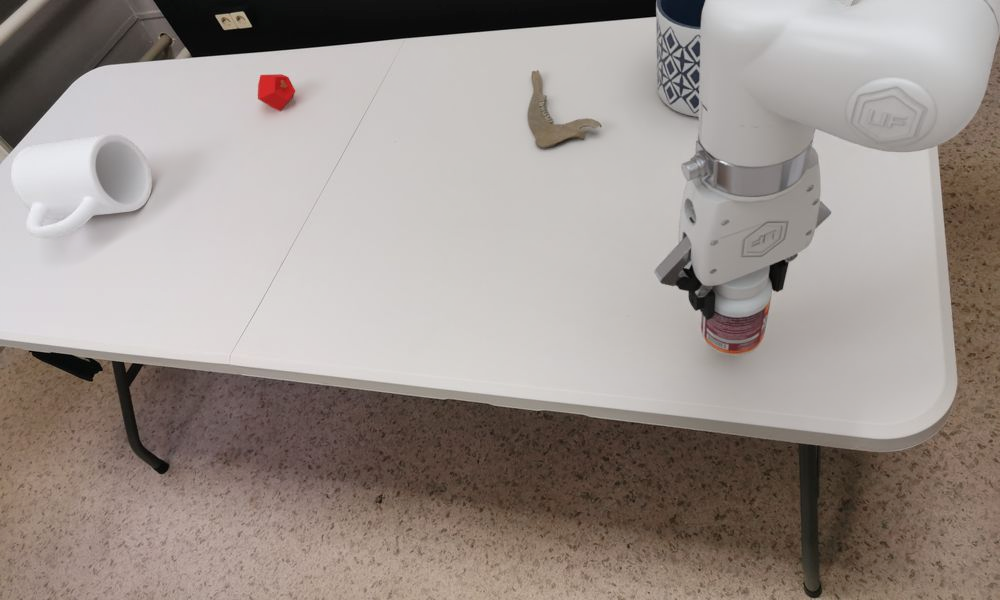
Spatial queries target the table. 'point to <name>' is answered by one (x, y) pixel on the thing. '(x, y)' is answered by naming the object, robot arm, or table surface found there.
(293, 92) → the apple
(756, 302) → the pill bottle
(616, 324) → the table surface
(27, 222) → the mug
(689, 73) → the planter
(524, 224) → the table surface
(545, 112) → the jawbone
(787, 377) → the table surface
